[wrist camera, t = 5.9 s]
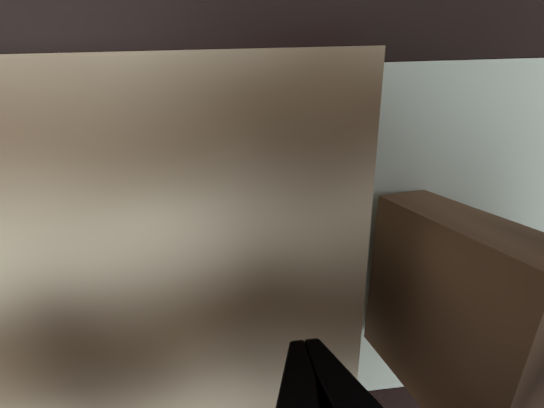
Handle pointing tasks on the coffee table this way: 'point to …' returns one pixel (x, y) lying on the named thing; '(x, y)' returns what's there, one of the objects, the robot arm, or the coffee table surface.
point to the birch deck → (181, 221)
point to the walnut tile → (457, 303)
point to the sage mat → (459, 149)
